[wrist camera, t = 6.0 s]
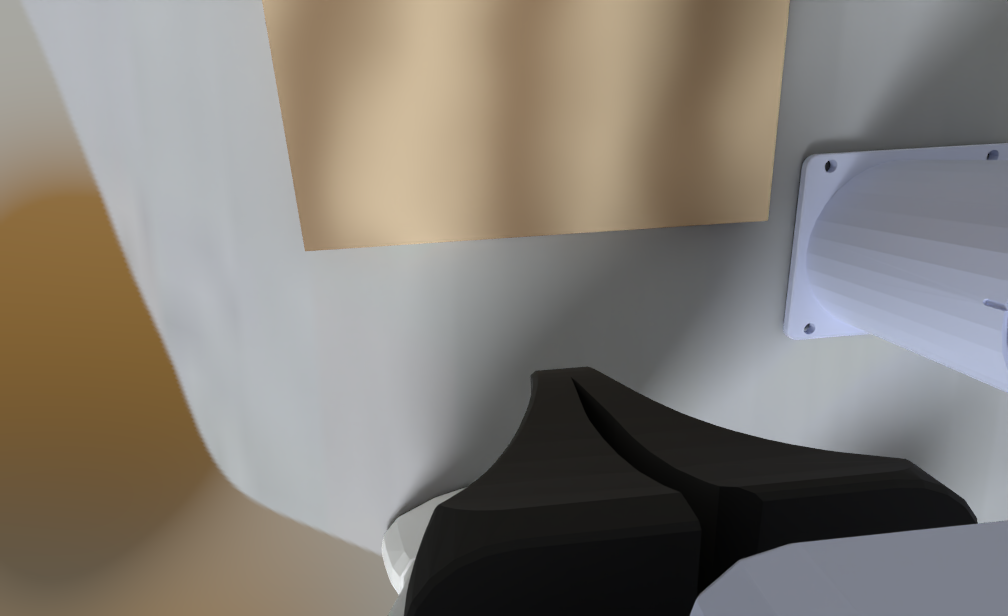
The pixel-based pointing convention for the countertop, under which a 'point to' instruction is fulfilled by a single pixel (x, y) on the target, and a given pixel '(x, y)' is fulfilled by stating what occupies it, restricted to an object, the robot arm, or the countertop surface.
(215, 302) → the countertop surface
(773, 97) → the oak plank
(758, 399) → the countertop surface
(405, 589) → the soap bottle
